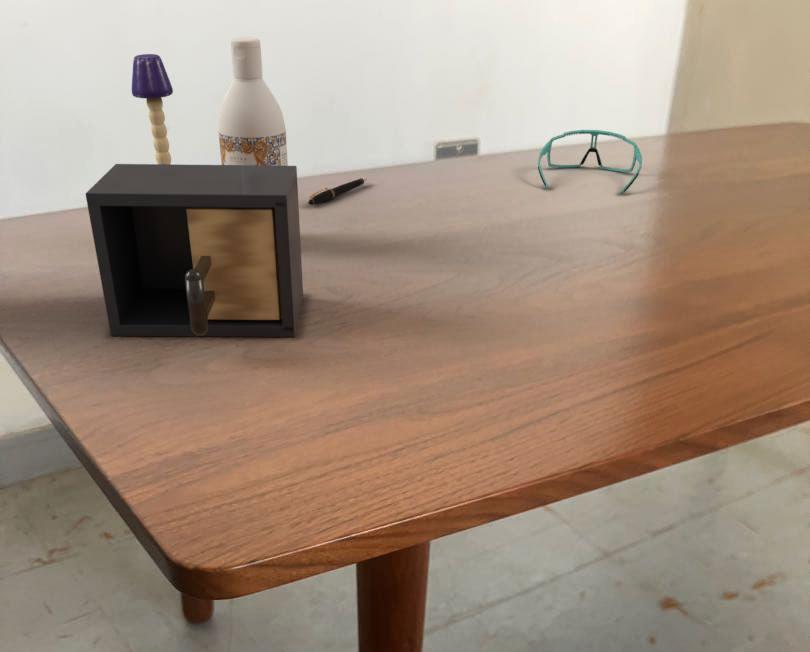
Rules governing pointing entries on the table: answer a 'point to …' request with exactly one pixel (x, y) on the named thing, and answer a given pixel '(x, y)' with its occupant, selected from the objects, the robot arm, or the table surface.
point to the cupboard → (185, 242)
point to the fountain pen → (334, 192)
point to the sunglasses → (592, 149)
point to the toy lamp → (153, 98)
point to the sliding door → (231, 265)
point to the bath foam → (250, 113)
